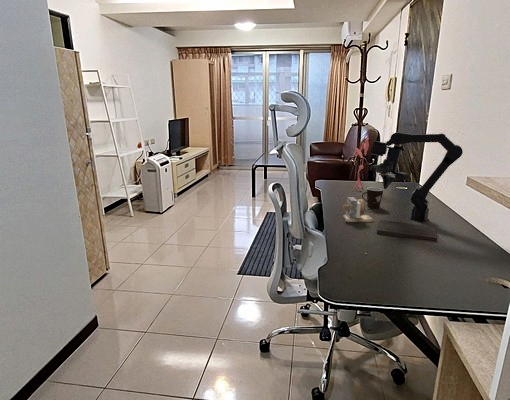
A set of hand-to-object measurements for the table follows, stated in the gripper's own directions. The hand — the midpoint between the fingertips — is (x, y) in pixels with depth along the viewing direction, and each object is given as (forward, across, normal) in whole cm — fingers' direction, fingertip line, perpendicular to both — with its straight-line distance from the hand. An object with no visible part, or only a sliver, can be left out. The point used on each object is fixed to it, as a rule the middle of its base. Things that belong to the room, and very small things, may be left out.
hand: (385, 188), depth 175 cm
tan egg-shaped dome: (+13, -1, -19) cm, 23 cm away
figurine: (+16, -42, +39) cm, 60 cm away
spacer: (+13, 0, -18) cm, 22 cm away
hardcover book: (+12, +24, -13) cm, 29 cm away
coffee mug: (+14, -11, +8) cm, 20 cm away
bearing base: (+14, 0, -17) cm, 22 cm away
